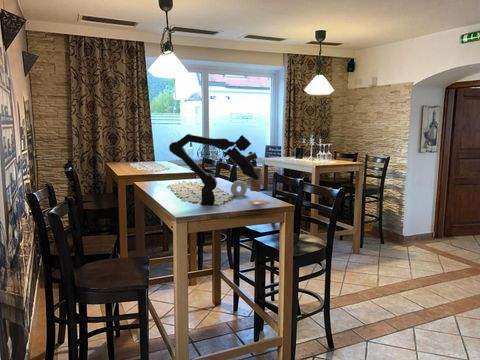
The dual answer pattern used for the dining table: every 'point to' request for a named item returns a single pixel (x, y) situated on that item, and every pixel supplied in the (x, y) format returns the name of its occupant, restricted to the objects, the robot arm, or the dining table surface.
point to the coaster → (258, 202)
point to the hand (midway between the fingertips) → (258, 178)
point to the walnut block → (253, 182)
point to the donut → (234, 188)
